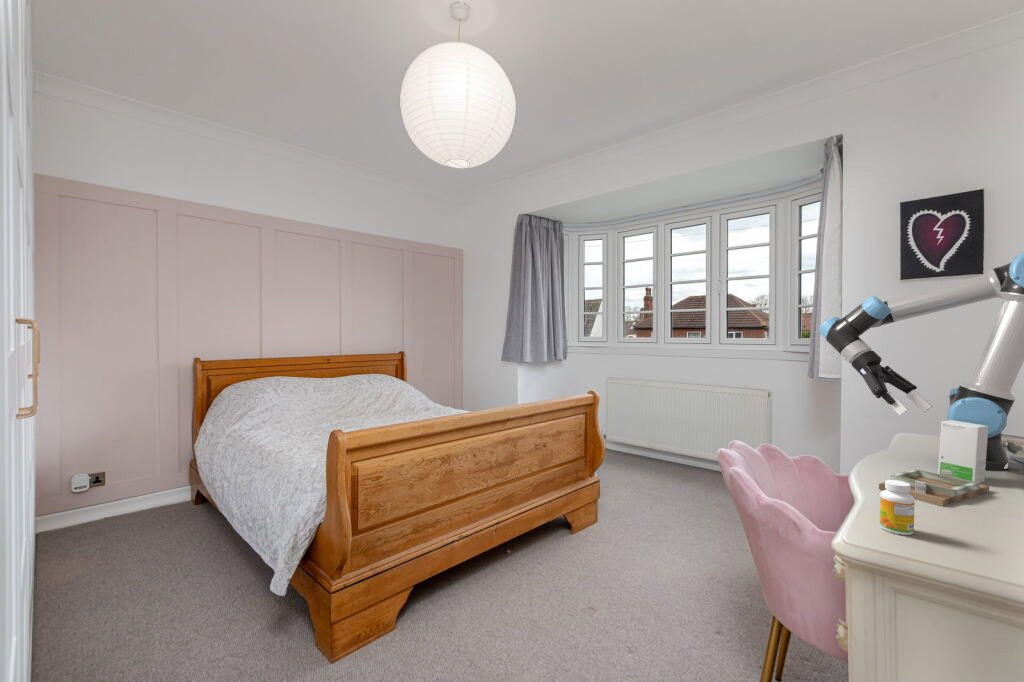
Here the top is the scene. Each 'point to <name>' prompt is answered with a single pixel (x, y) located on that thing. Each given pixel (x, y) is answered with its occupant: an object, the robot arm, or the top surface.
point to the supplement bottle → (897, 508)
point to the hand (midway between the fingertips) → (916, 411)
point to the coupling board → (938, 486)
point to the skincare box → (963, 450)
